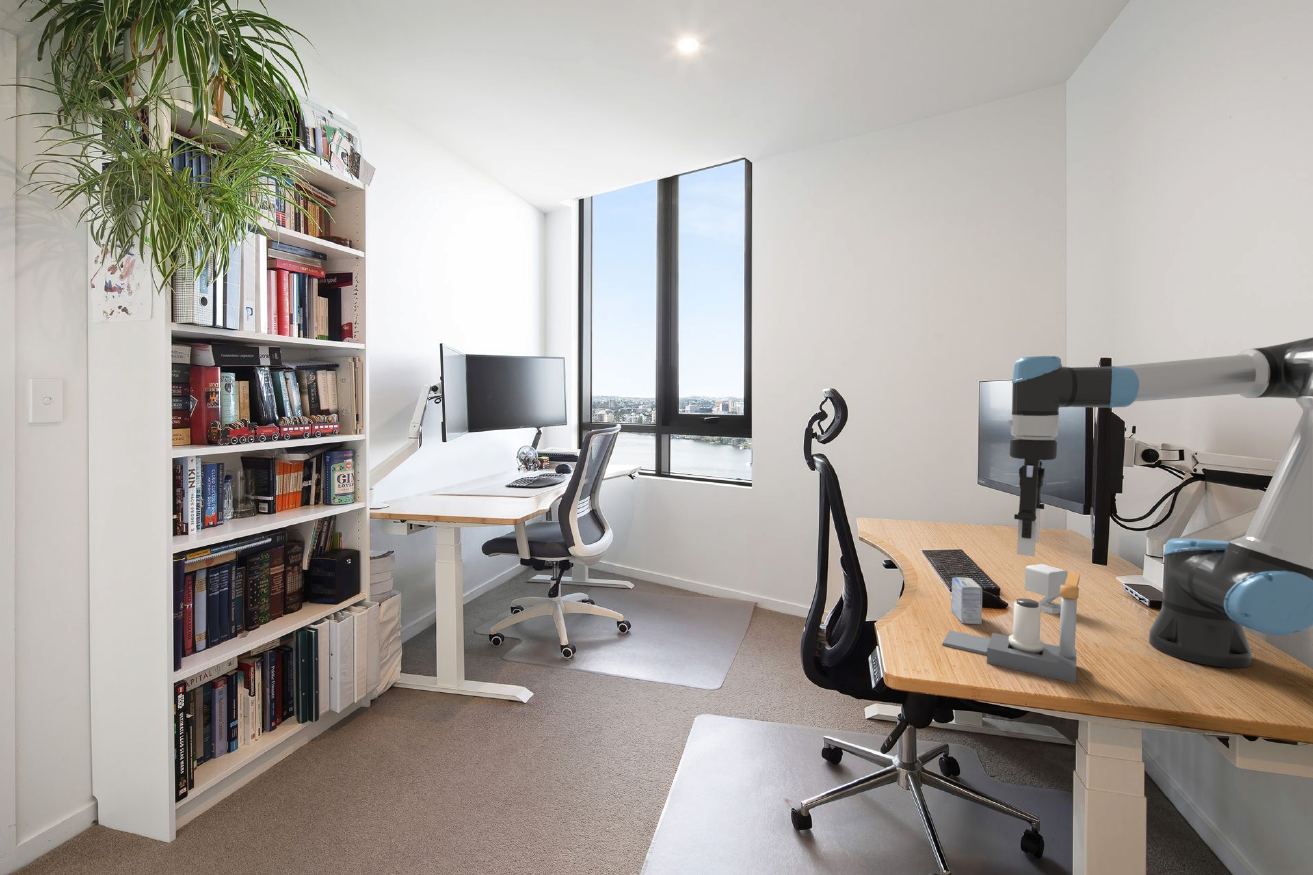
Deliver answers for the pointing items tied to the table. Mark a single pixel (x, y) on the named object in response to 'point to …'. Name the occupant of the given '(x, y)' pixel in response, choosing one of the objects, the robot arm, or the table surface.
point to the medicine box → (966, 600)
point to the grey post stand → (1050, 660)
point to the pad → (966, 642)
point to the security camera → (1045, 585)
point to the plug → (1026, 627)
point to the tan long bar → (1070, 586)
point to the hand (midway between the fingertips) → (1028, 547)
